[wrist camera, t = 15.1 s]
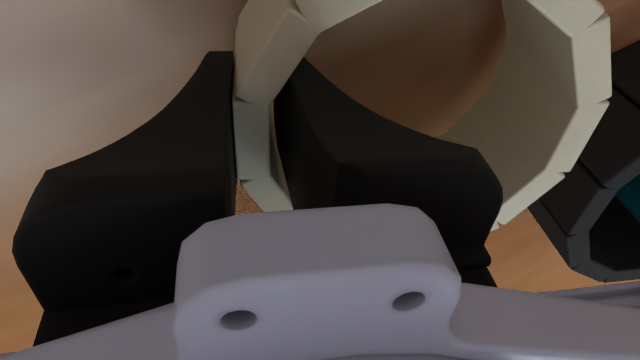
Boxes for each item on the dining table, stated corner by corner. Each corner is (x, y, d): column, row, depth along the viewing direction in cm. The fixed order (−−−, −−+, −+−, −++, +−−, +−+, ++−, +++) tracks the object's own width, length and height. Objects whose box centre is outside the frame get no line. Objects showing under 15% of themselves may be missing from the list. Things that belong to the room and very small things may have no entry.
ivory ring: (478, 168, 17) (524, 251, 14) (244, 174, 16) (242, 264, 13) (584, -97, 11) (699, -49, 8) (228, -119, 10) (219, -73, 7)
